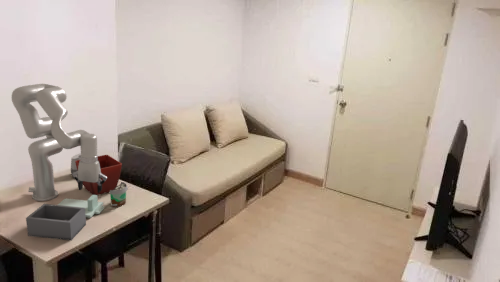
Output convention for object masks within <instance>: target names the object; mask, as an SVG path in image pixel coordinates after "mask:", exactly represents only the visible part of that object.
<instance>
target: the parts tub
mask: <svg viewBox="0 0 500 282" xmlns="http://www.w3.org/2000/svg"><path fill="white" fill-rule="evenodd" d="M25 222H26V231H27V236H28V237H35V238H45V239H54V240H55V239H56V240H64V241H72V240H74V238H76V236H77V235H78V234H79V233H80V232H81V231H82V230H83V229H84V228H85V226H86V225H87V217H86V216H85V208H81V207H71V206H61V205H58V204H52V203H51V204H49V203H43V204H42V205H41V206H39V207H38V208H37V209H35V210H34V211H33V212H31V213H30V215H28V216H26V217H25Z"/></svg>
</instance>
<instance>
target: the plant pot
mask: <svg viewBox="0 0 500 282" xmlns="http://www.w3.org/2000/svg"><path fill="white" fill-rule="evenodd" d="M97 156H98V161H99V164H100V169H101V173H102V174H103V175H105V176H106V177H107V179H106V181H105V182H104V183H103V184H102V190H101V191H100V192H99V193H98V190H97V186H98V184H97V182H86V181H83V188H84V189H85V190H86V191H87V192H88V193H89V194H91V196H92V195H97V196H99V195H102V194H107V193H110V190H113V189H114V188H115V187H116V186H118V185H119V180H120V177H121V174H122V166H123V163H122V162H120V161H119V160H117V159H116V158H113V157H112V156H110V155H109V154H103V155H97ZM79 161H81V160H77V161H75V163H76V167H77V170H78V166H79ZM101 180H103V178H101Z"/></svg>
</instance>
